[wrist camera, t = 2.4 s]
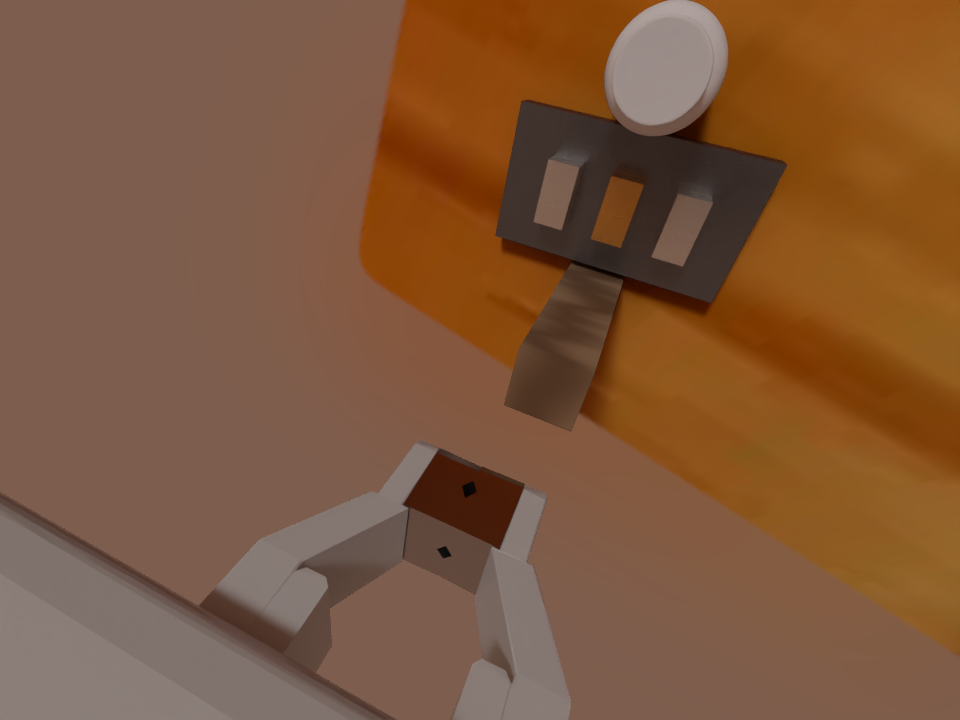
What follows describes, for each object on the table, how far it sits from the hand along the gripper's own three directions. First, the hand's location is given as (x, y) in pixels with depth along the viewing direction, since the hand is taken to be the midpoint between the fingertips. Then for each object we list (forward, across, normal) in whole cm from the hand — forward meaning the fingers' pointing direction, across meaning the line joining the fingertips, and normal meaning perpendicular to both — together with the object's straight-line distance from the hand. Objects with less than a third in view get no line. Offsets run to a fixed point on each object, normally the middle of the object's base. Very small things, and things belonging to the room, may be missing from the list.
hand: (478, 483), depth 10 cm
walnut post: (+27, 0, +7) cm, 28 cm away
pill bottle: (+27, 0, -8) cm, 28 cm away
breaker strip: (+27, 0, 0) cm, 27 cm away
